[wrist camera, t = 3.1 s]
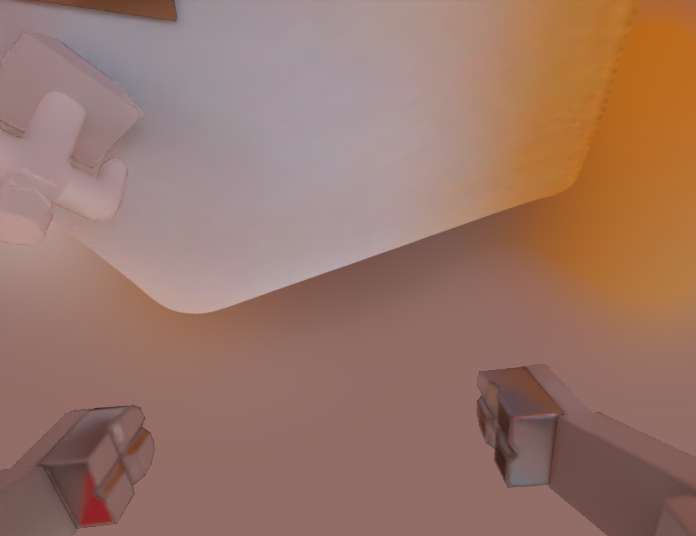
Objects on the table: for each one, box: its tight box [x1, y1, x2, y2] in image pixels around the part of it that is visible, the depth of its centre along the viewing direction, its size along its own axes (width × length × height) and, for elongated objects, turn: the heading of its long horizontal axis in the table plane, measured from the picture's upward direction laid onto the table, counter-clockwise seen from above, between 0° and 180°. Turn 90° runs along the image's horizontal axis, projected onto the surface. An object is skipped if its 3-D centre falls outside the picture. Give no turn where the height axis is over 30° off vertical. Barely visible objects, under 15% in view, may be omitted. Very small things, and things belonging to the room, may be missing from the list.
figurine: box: [0, 30, 144, 245], centre depth 23 cm, size 7×9×15 cm
